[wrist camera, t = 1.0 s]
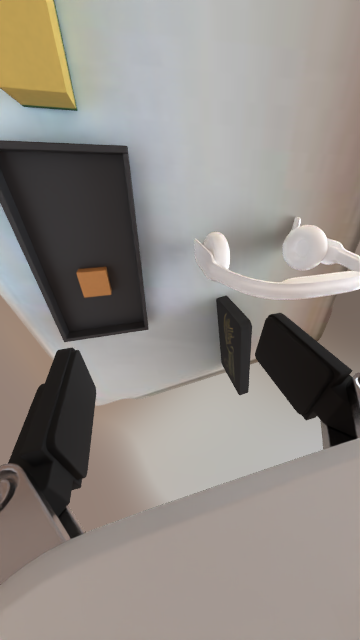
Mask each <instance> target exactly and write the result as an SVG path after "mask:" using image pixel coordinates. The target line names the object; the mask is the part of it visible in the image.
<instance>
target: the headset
mask: <svg viewBox="0 0 360 640" xmlns="http://www.w3.org/2000/svg"><path fill="white" fill-rule="evenodd" d="M300 221H301V219H300V218H299V217H296V218H295V220H294V223H293V228H292V231H291V232H290V233H289V234H288V235H287V237H286V238H285V241H284V243H283V248H282V252H283V257H284V260H285V261H286V263H287V264H288V265H289V266H290V267H292V268H294V269H296V270H309V269H312V268H314V267H316V266H317V265H318V264H320V263H323V264H327V265H332V264H335V263H338V264H341V265H343V266H345V267H347V268H349V269H351V270H352V271H345V272H337V273H330V274H322V275H314V276H304V277H295V278H289V279H286V280H284V281H282V282H281V283H278V282H268V281H262V280H257V279H253V278H249V277H246V276H243V275H240V274H237V273H234V272H232V271H230V270H228V269H229V264H230V251H229V245H228V242H227V240H226V238H225V236H224V235H223V234H222V233H220V232H212V233H210V234H208V235H207V237H206V239H205V241H204V245H202V244H201V243H200V242H199V241H198V240H197V239H194V253H195V260H196V262H197V264H198V265H199V267H200V268H201V270H202V271H203V273H204V274H205V275H206V277H207V278H208V279H210V280H212V281H219V282H220V283H222V284H224V285H226V286H228V287H230V288H232V289H235V290H237V291H239V292H242V293H245V294H248V295H252V296H255V297H260V298H266V299H276V300H293V299H306V298H314V297H321V296H328V295H334V294H340V293H345V292H350V291H353V290H357V289H360V256H358V255H356V254H354V253H352V252H350V251H347V250H345V249H344V248H343V246H342V244H341V243H340V242H338V241H335V240H331V239H327V237H326V235H325V234H324V232H323V231H322V230H321V229H320V228H318V227H316V226H313V225H303V226H300Z"/></svg>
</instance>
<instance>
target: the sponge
mask: <svg viewBox="0 0 360 640" xmlns="http://www.w3.org/2000/svg"><path fill="white" fill-rule="evenodd" d="M0 88H1V89H2V90H4V91H5V92H6V93H7V94H9V95H10V96H11V97H12V98H14V99H15V100H16V101H17V102H19V103H20V104H21V105H22V106H24V107H36V108H49V109H62V110H76V111H77V107H76V102H75V97H74V92H73V88H72V83H71V78H70V73H69V69H68V64H67V59H66V54H65V50H64V45H63V40H62V35H61V31H60V26H59V21H58V17H57V12H56V7H55V2H54V0H0Z"/></svg>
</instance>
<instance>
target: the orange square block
mask: <svg viewBox="0 0 360 640" xmlns="http://www.w3.org/2000/svg"><path fill="white" fill-rule="evenodd" d="M76 274H77V277H78V280H79V283H80V286H81V289H82V292H83V295H84V298H85V297H95V296H104V295H111V291H112V290H111V285H110V281H109V276H108V272H107V267H97V268H85V269H78V270H77V273H76Z"/></svg>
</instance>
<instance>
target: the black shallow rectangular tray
mask: <svg viewBox="0 0 360 640" xmlns="http://www.w3.org/2000/svg"><path fill="white" fill-rule="evenodd" d="M0 203H1V205H2V207H3V209H4V212H5V214H6V216H7V218H8V220H9V223H10V225H11V227H12V229H13V231H14V233H15V236H16V238H17V240H18V242H19V244H20V247H21V249H22V251H23V253H24V255H25V257H26V260H27V262H28V264H29V266H30V268H31V271H32V273H33V275H34V277H35V279H36V281H37V284H38V286H39V288H40V290H41V292H42V294H43V297H44V299H45V301H46V303H47V305H48V308H49V310H50V312H51V314H52V316H53V318H54V321H55V323H56V325H57V327H58V329H59V332H60V334H61V336H62V338H63V340H64V342H68V341H75V340H82V339H88V338H95V337H102V336H109V335H115V334H122V333H129V332H135V331H142V330H148V320H147V312H146V303H145V294H144V286H143V277H142V268H141V260H140V251H139V242H138V234H137V225H136V216H135V208H134V199H133V191H132V182H131V173H130V165H129V156H128V147H127V146H116V145H93V144H69V143H46V142H22V141H0ZM97 267H107V272H108V276H109V281H110V285H111V290H112V291H111V295H104V296H95V297H85V298H84V295H83V292H82V289H81V286H80V283H79V280H78V277H77V274H76V273H77V270H78V269H85V268H97Z"/></svg>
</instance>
